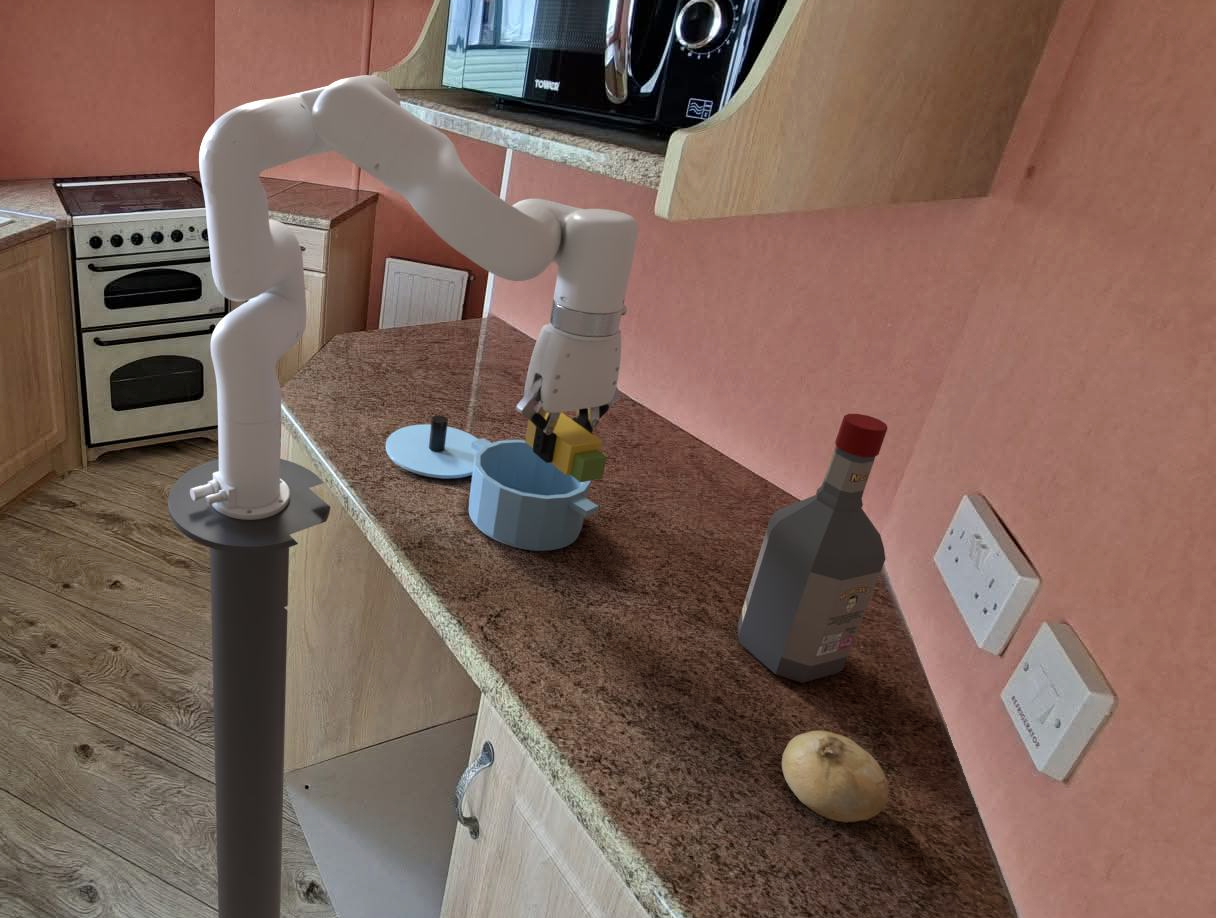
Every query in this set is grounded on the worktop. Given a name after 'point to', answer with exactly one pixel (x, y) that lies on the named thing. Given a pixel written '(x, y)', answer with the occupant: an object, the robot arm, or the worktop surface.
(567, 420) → the corn
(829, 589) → the liquor
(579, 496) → the pot
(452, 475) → the lid
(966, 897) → the worktop surface
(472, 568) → the worktop surface
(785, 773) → the onion
